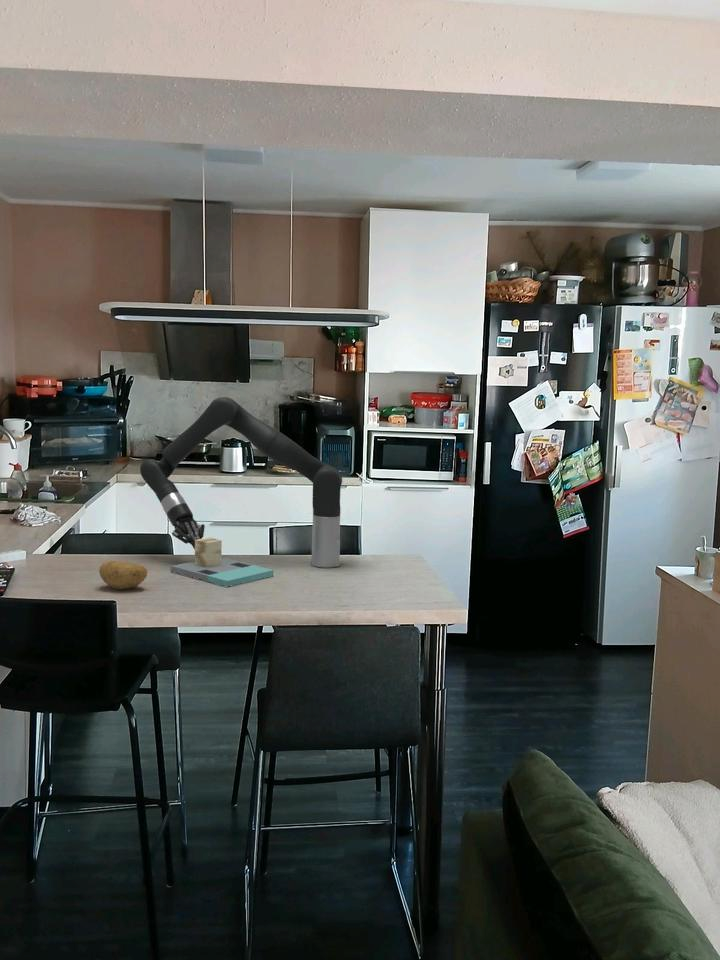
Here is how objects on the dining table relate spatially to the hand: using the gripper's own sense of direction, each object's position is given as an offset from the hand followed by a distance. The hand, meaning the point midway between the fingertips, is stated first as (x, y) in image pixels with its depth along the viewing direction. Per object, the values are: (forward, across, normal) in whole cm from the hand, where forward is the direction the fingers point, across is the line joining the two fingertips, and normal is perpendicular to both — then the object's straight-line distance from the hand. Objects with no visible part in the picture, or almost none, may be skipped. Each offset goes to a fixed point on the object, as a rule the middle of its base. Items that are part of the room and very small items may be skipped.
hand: (201, 551), depth 283 cm
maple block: (+5, 0, 0) cm, 5 cm away
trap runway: (+11, 0, -3) cm, 12 cm away
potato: (+6, -33, +2) cm, 33 cm away
